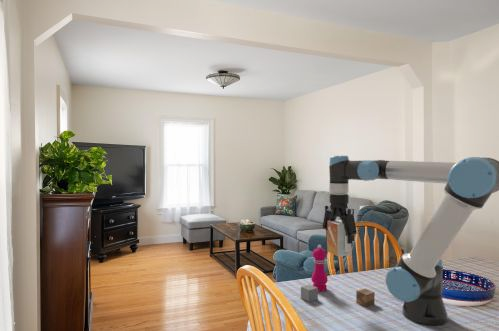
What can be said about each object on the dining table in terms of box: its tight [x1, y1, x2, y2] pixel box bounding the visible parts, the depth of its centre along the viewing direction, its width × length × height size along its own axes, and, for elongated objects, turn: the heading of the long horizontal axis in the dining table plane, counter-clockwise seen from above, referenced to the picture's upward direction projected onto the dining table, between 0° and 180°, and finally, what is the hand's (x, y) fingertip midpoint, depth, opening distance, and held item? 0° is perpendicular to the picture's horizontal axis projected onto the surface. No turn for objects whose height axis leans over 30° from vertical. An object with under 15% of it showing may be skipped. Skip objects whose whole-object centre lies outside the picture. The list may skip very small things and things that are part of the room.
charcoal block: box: [300, 284, 319, 303], centre depth 152 cm, size 5×5×5 cm
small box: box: [326, 219, 352, 258], centre depth 147 cm, size 8×6×13 cm
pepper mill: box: [311, 244, 329, 292], centre depth 164 cm, size 7×7×20 cm
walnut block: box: [355, 288, 375, 308], centre depth 147 cm, size 5×5×5 cm
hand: (338, 248), depth 147 cm, fingers closed on small box, 9 cm apart
